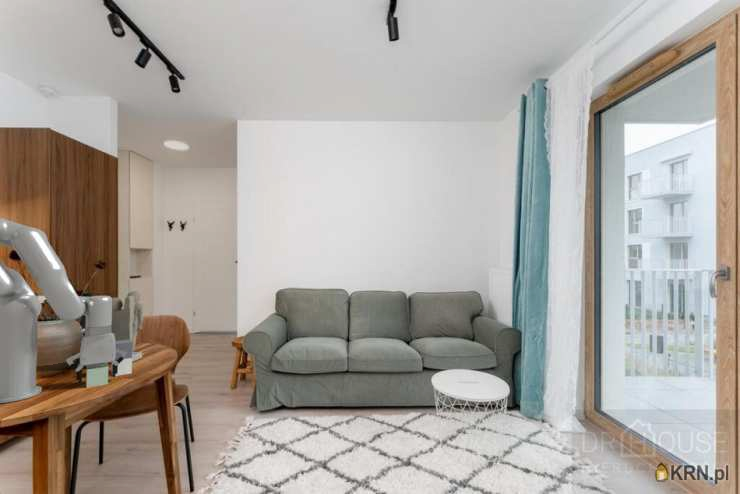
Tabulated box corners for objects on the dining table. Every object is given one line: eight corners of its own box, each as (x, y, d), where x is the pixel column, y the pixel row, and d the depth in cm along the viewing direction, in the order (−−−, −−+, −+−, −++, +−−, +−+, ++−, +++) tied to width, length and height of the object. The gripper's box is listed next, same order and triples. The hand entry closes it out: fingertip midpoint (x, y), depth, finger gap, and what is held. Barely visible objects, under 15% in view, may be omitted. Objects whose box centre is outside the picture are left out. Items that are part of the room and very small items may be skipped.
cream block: (112, 376, 138) (113, 360, 138) (111, 372, 142) (111, 356, 142) (131, 373, 141) (132, 357, 142) (129, 369, 146) (130, 354, 146)
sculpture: (148, 358, 162) (150, 290, 163) (134, 363, 154) (136, 292, 155) (117, 357, 163) (119, 289, 164) (101, 362, 155) (104, 291, 156)
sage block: (86, 388, 126) (87, 370, 126) (86, 383, 130) (86, 366, 130) (107, 384, 129) (108, 367, 130) (106, 379, 134) (107, 363, 134)
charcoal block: (113, 360, 138) (113, 344, 138) (112, 356, 142) (112, 341, 143) (132, 357, 142) (132, 342, 142) (130, 354, 146) (130, 339, 146)
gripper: (67, 335, 122) (65, 387, 122) (128, 329, 133) (127, 376, 132) (67, 331, 128) (65, 381, 127) (126, 326, 139) (125, 371, 138)
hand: (97, 378), depth 130 cm, fingers open, 9 cm apart
